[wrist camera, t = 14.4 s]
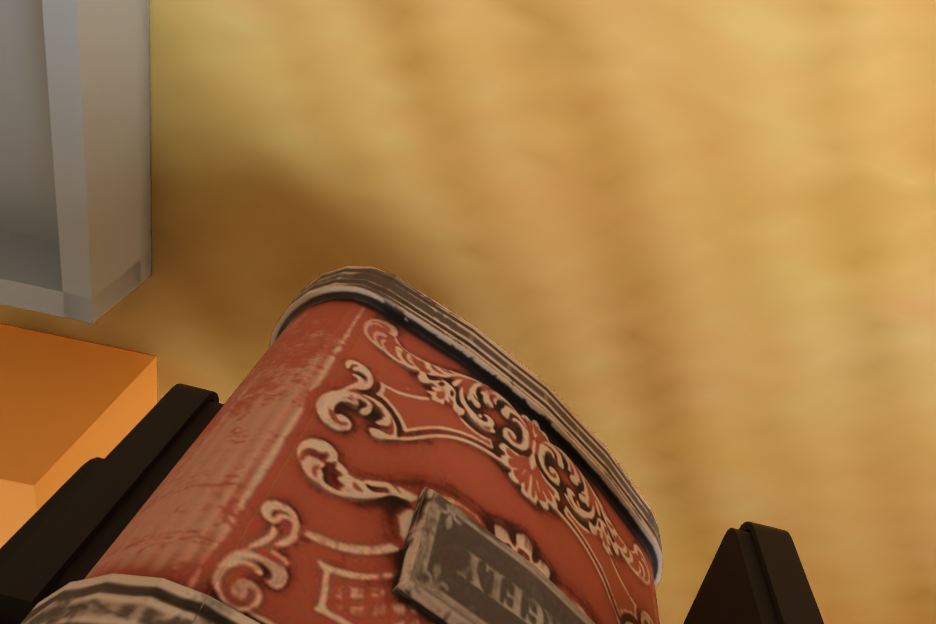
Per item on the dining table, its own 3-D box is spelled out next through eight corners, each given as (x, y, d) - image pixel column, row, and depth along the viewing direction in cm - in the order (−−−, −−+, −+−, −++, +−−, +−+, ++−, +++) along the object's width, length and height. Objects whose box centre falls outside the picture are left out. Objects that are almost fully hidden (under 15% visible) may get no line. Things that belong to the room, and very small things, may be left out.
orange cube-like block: (157, 355, 18) (33, 486, 14) (159, 504, 21) (53, 658, 16) (1, 322, 18) (-172, 442, 14) (20, 476, 21) (-124, 621, 16)
